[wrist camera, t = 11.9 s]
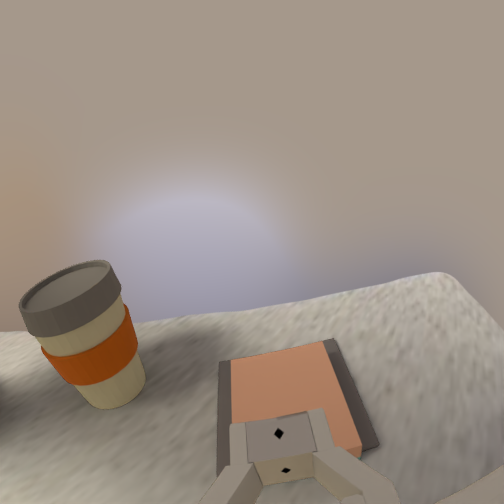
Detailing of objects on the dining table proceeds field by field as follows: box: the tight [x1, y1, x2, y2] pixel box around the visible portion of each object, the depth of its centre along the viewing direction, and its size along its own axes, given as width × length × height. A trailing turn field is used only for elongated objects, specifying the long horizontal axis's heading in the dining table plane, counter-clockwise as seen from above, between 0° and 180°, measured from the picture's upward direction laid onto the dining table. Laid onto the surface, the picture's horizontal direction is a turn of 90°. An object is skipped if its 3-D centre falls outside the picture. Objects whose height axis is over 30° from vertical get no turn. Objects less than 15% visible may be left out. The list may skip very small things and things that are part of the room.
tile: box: [231, 341, 362, 460], centre depth 27 cm, size 2×10×14 cm
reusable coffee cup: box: [19, 260, 146, 409], centre depth 33 cm, size 13×13×15 cm
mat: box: [217, 338, 379, 478], centre depth 29 cm, size 16×14×1 cm
